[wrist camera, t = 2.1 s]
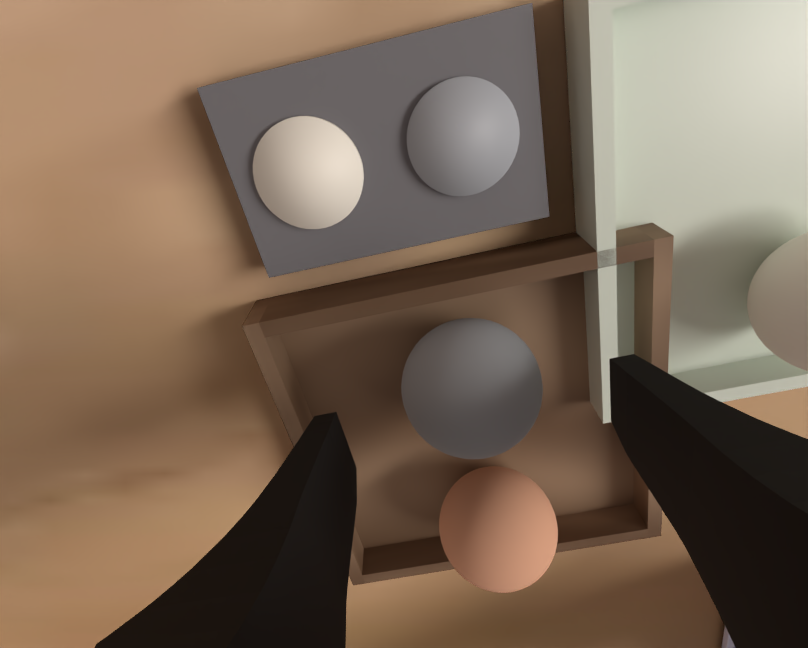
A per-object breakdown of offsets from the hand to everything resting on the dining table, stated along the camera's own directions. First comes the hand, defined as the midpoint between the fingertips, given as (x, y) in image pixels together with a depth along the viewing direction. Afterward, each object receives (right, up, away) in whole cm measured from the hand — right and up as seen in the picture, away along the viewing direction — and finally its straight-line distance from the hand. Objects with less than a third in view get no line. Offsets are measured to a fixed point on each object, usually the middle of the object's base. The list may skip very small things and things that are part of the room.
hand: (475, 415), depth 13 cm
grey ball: (0, +2, +3) cm, 3 cm away
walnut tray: (+1, -1, +5) cm, 5 cm away
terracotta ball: (+1, -4, +6) cm, 7 cm away
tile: (-2, +7, 0) cm, 8 cm away
